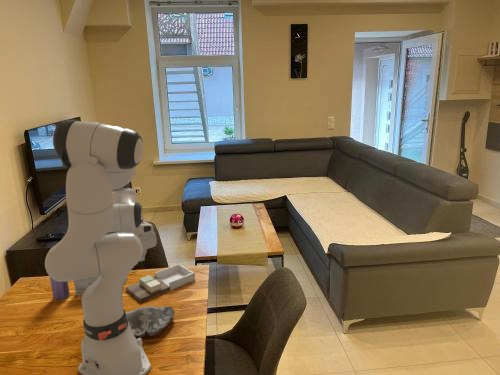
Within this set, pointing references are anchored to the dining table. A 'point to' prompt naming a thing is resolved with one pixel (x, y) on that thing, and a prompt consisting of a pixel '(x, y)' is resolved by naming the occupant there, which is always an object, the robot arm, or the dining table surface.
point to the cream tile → (153, 286)
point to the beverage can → (59, 289)
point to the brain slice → (149, 320)
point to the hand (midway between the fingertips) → (132, 263)
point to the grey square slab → (146, 291)
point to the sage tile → (145, 280)
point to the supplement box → (85, 284)
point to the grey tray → (175, 276)
